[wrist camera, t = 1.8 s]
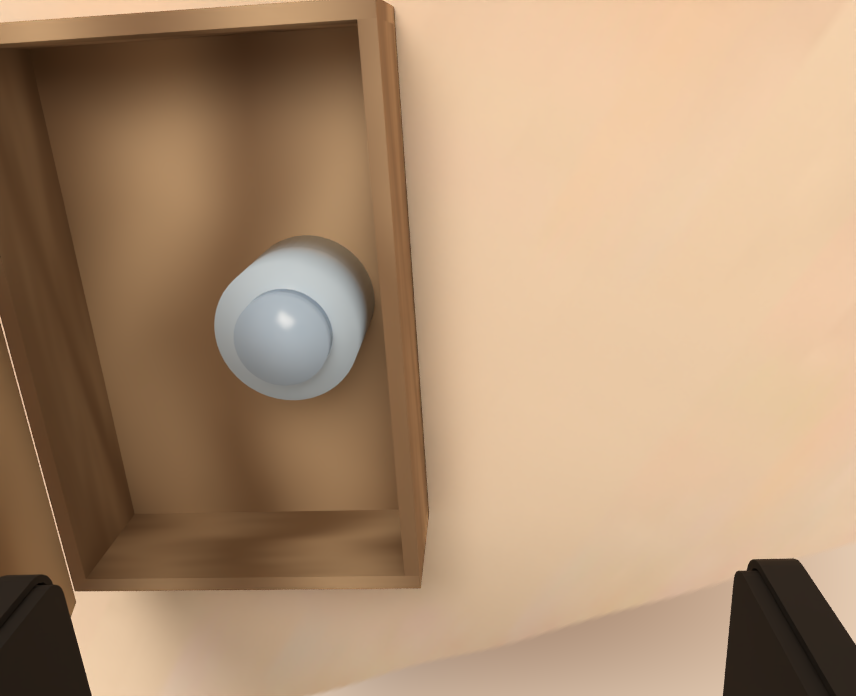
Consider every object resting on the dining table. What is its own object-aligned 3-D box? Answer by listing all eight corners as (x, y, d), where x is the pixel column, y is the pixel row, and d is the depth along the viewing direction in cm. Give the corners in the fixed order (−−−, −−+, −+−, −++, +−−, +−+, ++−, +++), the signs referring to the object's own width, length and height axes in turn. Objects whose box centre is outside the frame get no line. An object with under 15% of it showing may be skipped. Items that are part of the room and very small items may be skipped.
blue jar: (368, 232, 25) (348, 265, 21) (379, 355, 27) (362, 408, 23) (239, 238, 26) (194, 271, 22) (257, 359, 27) (219, 412, 23)
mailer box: (393, 6, 23) (374, -4, 19) (429, 513, 30) (420, 588, 26) (18, 32, 24) (-78, 28, 20) (130, 517, 31) (75, 591, 26)
